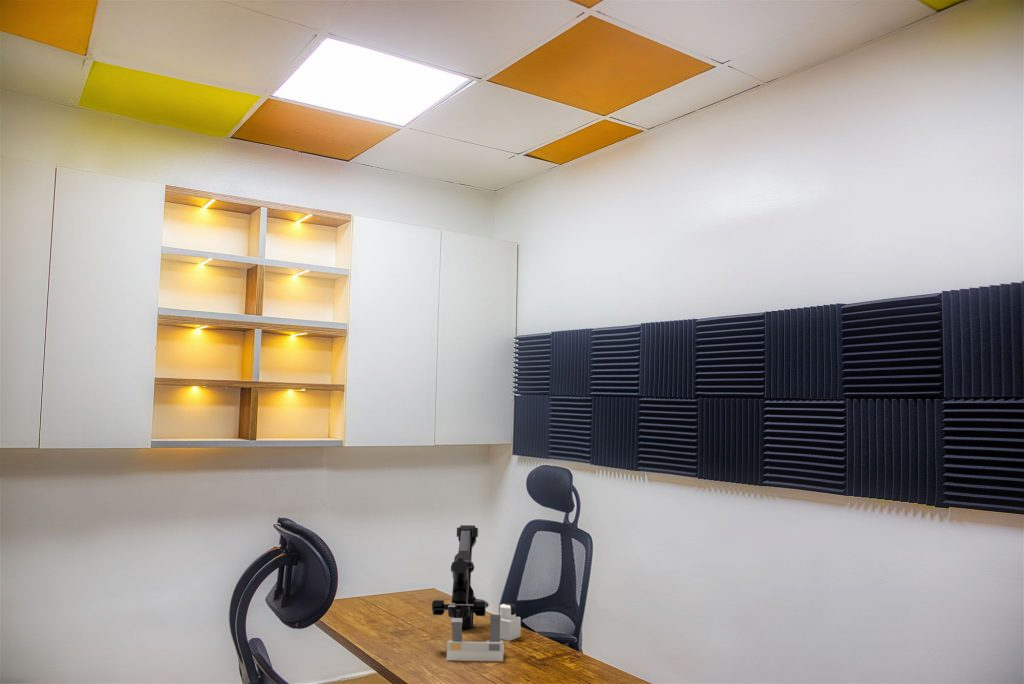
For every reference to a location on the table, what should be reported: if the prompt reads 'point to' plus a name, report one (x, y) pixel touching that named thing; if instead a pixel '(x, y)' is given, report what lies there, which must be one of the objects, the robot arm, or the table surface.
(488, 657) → the switch box
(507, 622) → the medicine bottle
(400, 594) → the table surface
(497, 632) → the lever
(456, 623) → the lever
